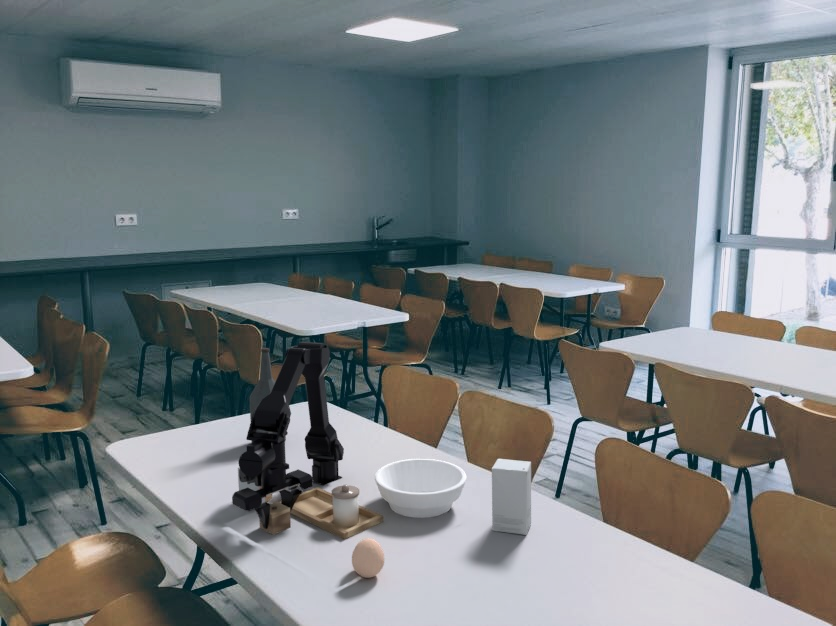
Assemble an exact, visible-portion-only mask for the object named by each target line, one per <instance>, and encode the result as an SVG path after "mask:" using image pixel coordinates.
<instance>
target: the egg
mask: <svg viewBox="0 0 836 626" xmlns="http://www.w3.org/2000/svg"><path fill="white" fill-rule="evenodd" d="M385 560H386V559H385V552H384V550H383V547H382V546H381V545H380V543H379V542H378V541H376V540H375V539H374V538H369V537H367V538H364V539H362V540H360V541H359V542H358V543H357V544H356V545H355V547H354V549H353V550H352V555H351V564H352V567H353V570H354V571H355V572H356V573H357V574H358V575H359V576H361V577H363V578H365V579H366V578H368V579H370V578H374V577H376V576H377V575H378V574H380V572H381V571H382V570H383V567H384V565H385Z"/></svg>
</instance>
